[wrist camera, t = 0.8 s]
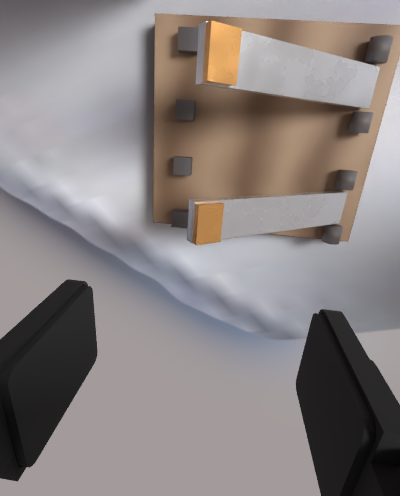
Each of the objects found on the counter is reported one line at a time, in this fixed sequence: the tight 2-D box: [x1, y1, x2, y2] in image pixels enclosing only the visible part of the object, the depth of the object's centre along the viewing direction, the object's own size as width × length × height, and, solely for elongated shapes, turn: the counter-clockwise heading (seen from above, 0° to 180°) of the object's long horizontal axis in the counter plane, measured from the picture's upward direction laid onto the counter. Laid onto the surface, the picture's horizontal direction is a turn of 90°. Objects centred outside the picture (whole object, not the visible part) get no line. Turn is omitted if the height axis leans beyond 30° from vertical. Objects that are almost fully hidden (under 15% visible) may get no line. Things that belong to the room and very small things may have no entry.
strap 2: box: [187, 190, 348, 245], centre depth 24 cm, size 16×3×1 cm
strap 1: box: [196, 20, 380, 109], centre depth 21 cm, size 16×3×1 cm
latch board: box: [153, 14, 400, 244], centre depth 27 cm, size 20×18×4 cm
